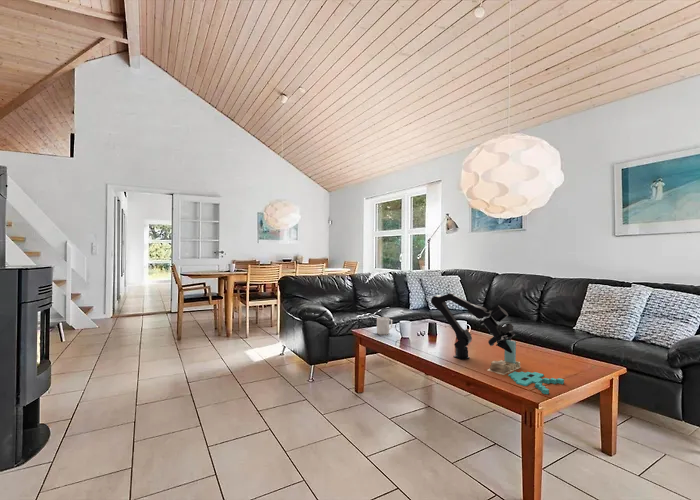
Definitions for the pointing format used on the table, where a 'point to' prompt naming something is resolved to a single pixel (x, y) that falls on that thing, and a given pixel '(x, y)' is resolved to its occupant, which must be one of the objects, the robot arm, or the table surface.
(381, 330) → the mug
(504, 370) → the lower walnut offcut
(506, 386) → the table surface
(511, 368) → the birch rack
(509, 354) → the teal panel
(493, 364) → the upper oak offcut
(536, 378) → the alien figure
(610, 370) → the table surface
